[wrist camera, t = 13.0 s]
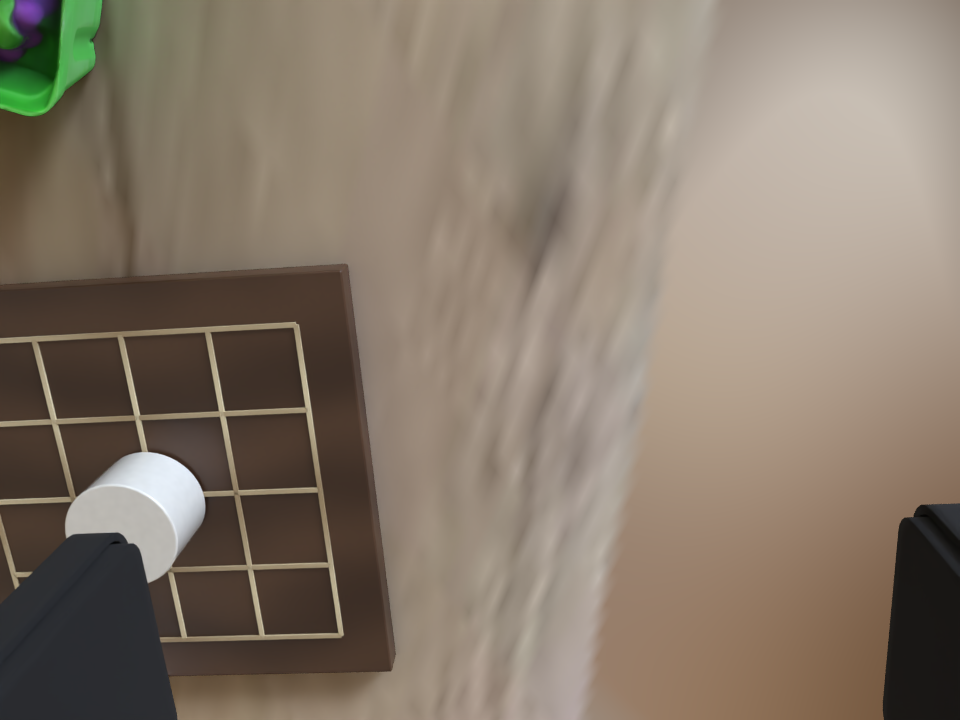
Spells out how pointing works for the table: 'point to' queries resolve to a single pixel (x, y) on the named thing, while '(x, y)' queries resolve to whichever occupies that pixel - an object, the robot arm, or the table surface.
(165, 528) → the white round puck
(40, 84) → the fruit basket
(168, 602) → the board
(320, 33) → the table surface
